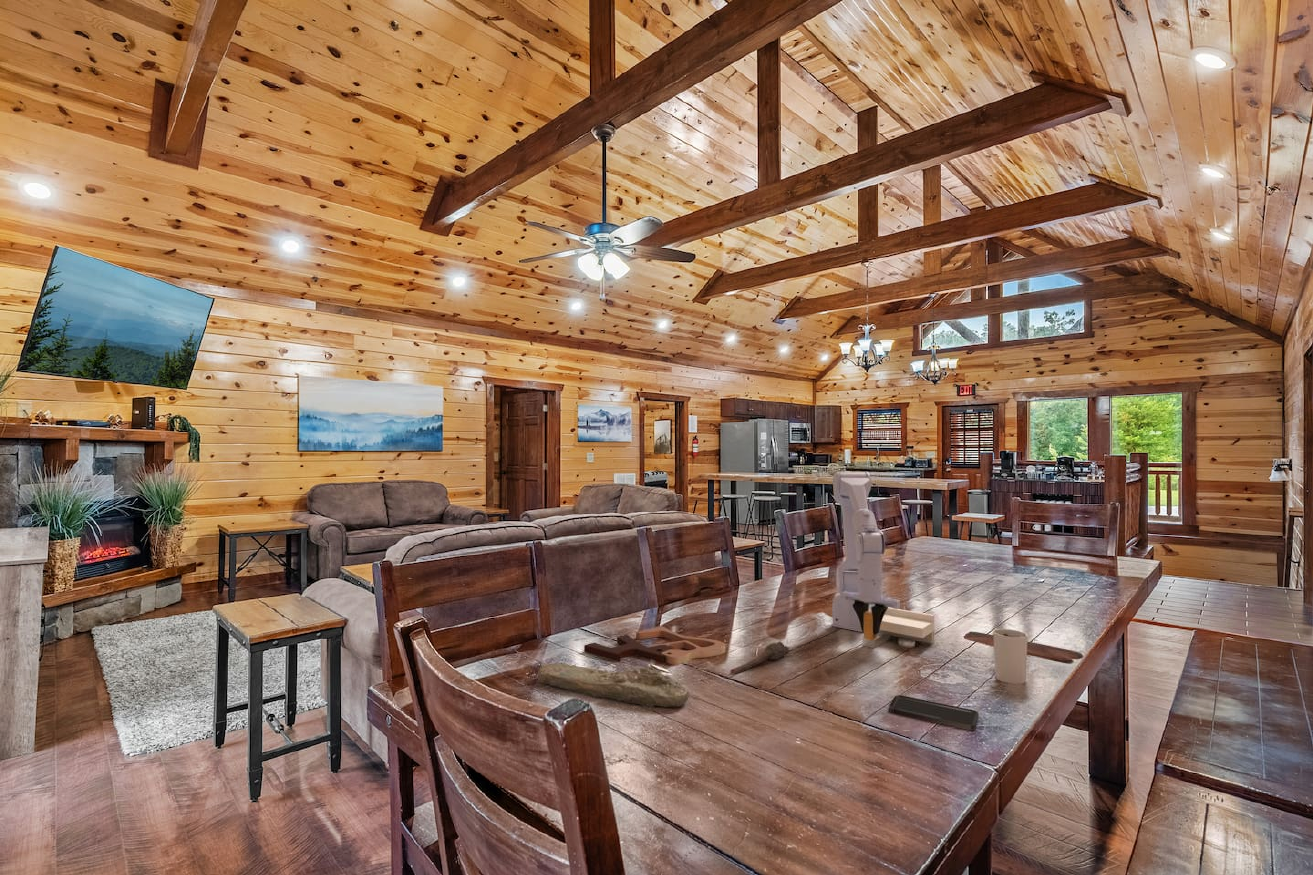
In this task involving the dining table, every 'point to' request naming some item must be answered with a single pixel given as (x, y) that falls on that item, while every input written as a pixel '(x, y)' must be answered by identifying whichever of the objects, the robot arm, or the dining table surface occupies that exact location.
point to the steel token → (906, 642)
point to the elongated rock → (617, 684)
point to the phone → (934, 712)
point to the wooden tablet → (1031, 648)
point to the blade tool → (869, 637)
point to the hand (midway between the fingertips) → (870, 632)
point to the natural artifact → (765, 656)
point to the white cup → (1010, 655)
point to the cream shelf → (909, 624)
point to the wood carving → (659, 647)
